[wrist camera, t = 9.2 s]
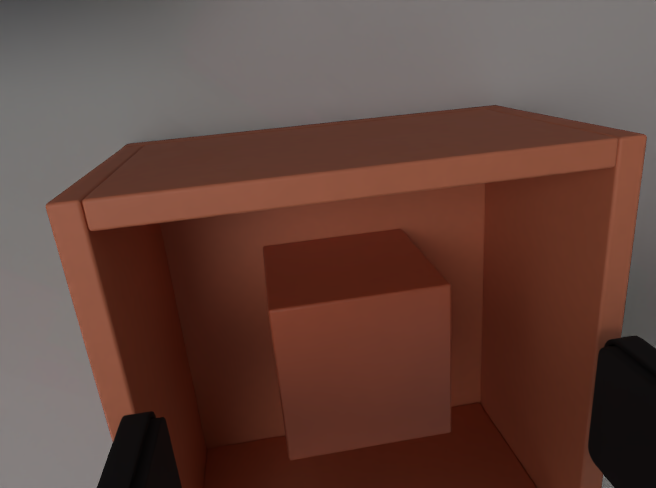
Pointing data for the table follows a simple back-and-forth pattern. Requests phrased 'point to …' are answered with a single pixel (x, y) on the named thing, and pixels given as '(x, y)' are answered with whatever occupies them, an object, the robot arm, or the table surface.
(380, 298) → the terracotta block
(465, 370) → the terracotta bin
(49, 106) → the table surface
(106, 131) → the table surface
